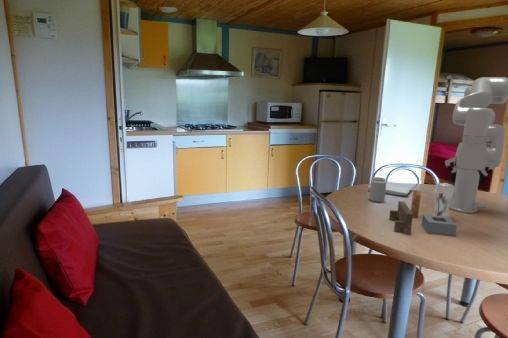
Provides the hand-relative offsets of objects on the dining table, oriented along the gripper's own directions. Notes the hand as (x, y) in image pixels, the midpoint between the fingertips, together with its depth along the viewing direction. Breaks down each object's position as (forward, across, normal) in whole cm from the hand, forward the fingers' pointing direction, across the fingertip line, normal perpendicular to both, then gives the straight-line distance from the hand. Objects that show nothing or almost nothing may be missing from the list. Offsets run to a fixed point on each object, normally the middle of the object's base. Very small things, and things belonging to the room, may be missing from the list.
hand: (466, 183), depth 135 cm
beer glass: (+19, +4, -17) cm, 26 cm away
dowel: (+19, +15, -12) cm, 28 cm away
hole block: (+20, +8, +2) cm, 21 cm away
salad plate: (+19, +23, -58) cm, 65 cm away
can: (+19, +31, -32) cm, 48 cm away
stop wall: (+20, +23, +4) cm, 30 cm away
